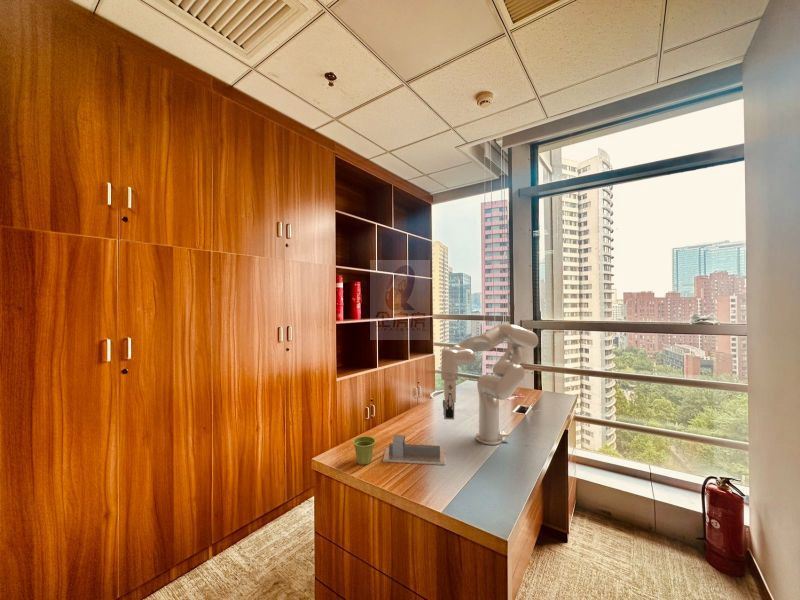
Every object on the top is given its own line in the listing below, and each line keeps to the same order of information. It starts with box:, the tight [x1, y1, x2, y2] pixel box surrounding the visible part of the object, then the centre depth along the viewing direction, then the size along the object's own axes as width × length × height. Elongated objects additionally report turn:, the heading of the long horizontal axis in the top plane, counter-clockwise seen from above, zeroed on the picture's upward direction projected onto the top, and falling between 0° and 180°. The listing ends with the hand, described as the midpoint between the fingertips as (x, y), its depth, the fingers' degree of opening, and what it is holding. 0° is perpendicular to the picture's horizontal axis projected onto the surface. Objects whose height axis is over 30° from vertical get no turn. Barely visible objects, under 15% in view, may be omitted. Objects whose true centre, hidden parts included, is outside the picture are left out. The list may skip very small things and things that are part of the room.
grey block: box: [442, 399, 455, 421], centre depth 145 cm, size 5×6×7 cm
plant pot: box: [352, 435, 376, 466], centre depth 132 cm, size 9×9×9 cm
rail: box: [382, 434, 446, 466], centre depth 137 cm, size 26×11×8 cm, turn 86°
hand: (448, 414), depth 145 cm, fingers closed on grey block, 6 cm apart
